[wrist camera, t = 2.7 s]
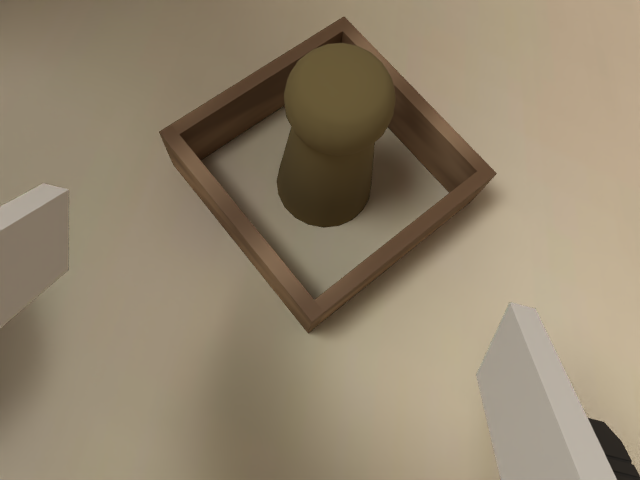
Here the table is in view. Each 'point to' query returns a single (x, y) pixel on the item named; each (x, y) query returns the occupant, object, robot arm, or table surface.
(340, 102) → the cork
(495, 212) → the table surface
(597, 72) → the table surface
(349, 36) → the walnut box
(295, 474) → the table surface
